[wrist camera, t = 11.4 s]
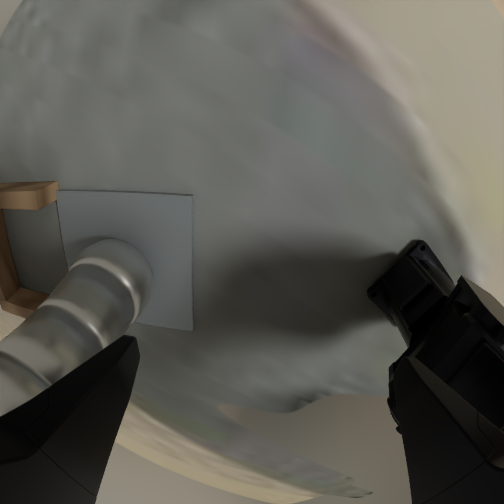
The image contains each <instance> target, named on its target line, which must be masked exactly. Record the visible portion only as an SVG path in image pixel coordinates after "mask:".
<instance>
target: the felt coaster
mask: <svg viewBox="0 0 504 504" xmlns="http://www.w3.org/2000/svg"><path fill="white" fill-rule="evenodd" d="M56 196H57V206H58V214H59V221H60V228H61V234H62V240H63V246H64V251H65V257H66V262H67V266H68V270H69V268H70V267H71V265H72V264H73V262H74V261H75V259H76V258H77V257H78V256H79V254H80V253H81V252H82V251H83V250H84V249H85V248H87V247H88V246H90V245H92V244H94V243H96V242H99V241H101V240H104V239H117V240H121V241H124V242H126V243H129V244H131V245H133V246H134V247H136V248H137V249H138V250H139V251H140V252H141V253H142V254H143V255H144V257H145V258H146V259H147V261H148V263H149V265H150V267H151V270H152V273H153V278H154V285H153V290H152V294H151V298H150V301H149V304H148V305H147V307H146V309H145V310H144V311H143V312H142V314H141V315H140V316H139V317H138V319H137V320H136V321H134V322H136V323H141V324H147V325H153V326H159V327H165V328H171V329H178V330H185V331H192V332H193V330H194V322H193V282H192V226H193V195H188V194H173V193H156V192H135V191H107V190H57V191H56Z"/></svg>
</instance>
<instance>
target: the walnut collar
mask: <svg viewBox="0 0 504 504" xmlns="http://www.w3.org/2000/svg"><path fill="white" fill-rule="evenodd" d="M57 190H59V187H58V181H46V182H20V183H2V184H0V304H1V307H2V309H3V310H4V311H7V312H9V313H12V314H15V315H18V316H20V317H23V318H26V319H27V318H28V317H29V316H30V315H31V314H32V313H33V312H34V311H35V310H36V309H37V308H38V307H39V306H40V305H41V304H42V303H43V302H44V301H45V300H46V299H47V298H48V297H49V294H45V293H41V292H37V291H33V290H29V289H26V288H22V287H21V286H20V283H19V280H18V276H17V273H16V269H15V266H14V262H13V258H12V254H11V250H10V246H9V242H8V237H7V233H6V228H5V222H4V217H3V211H2V209H24V210H39V209H41V208H43V207H45V206H46V205H48V204H50V203H52V202H54V201H56V200H57V196H56V191H57Z"/></svg>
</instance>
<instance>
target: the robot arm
mask: <svg viewBox="0 0 504 504" xmlns="http://www.w3.org/2000/svg"><path fill="white" fill-rule="evenodd" d="M422 245H423V248H421V249H420V247H421V246H422ZM457 282H458V284H457V285H456V286H455V285H454V283H453V281H452V279H451V278H450V276H449V275H448V273H447V272H446V270H445V269H444V267H443V266H442V264H441V263H440V261H439V260H438V258H437V257H436V256H435V254H434V253H433V251H432V250H431V249H430V247H429V246H428V244H427V243H426V242H424V241H423V240H421V241H419V242H417V243H416V244H415V245H414V246H413V247H412V248H411V249H410V250H409V251H408V252H407V253H406V254H405V255H404V256H403V257H402V258H401V259H400V260H399V261H398V262H397V263H396V264H395V265H394V266H393V267H392V268H391V269H390V270H389V271H388V272H386V273H385V274H384V275H383V276H382V277H381V278H380V279H379V280H378V281H377V282H376V283H375V284H374V285H373V286H371V287H370V288H369V289H368V291H367V295H368V297H369V298H370V299H371V300H372V301H373V302H374V303H375V304H376V305H377V306H378V307H379V308H380V309H381V310H382V311H384V312H385V313H386V314H387V315H388V316H389V317H390V318H391V319H392V320H393V321H394V322H395V323H396V325H397V327H398V329H399V331H400V333H401V335H402V337H403V339H404V341H405V343H406V345H407V347H408V349H407V350H406V351H405V352H404V353H403V354H402V355H401V356H400V358H399V359H398V360H397V361H396V362H393V363H392V364H391V366H390V367H389V397H388V398H387V404H388V406H389V408H390V412H391V415H392V417H393V419H394V420H395V422H396V423H397V425H398V426H397V427H396V430H397V431H398V432H399V433H400V434H402V439H403V444H404V450H405V456H406V462H407V468H408V474H409V482H410V489H411V498H412V504H504V307H503V306H502V305H501V304H500V303H499V302H498V301H497V300H496V299H495V298H494V297H493V296H492V295H491V294H490V293H488V292H487V291H485V290H484V289H482V288H481V287H479V286H478V285H476V284H475V283H473V282H472V281H470V280H469V279H467V278H466V277H464V276H463V275H461V277H460V278H459V280H458V281H457ZM373 292H375V293H374V294H372V293H373ZM139 360H140V353H139V348H138V344H137V340H136V338H135V337H134V336H129V335H123V336H121V337H120V338H118V339H117V340H115V341H114V342H112V343H111V344H110V345H108V346H107V347H105V348H104V349H102V350H101V351H100V352H98V353H97V354H95V355H94V356H92V357H91V358H89V359H88V360H87V361H85V362H84V363H82V364H81V365H79V366H78V367H77V368H75V369H74V370H72V371H71V372H69V373H68V374H67V375H65V376H64V377H62V378H61V379H59V380H58V381H57V382H55V383H54V384H52V385H51V386H49V388H46V389H45V390H44V391H42V392H41V393H39V394H38V395H36V396H35V397H33V398H32V399H30V400H29V401H27V402H25V403H24V404H22V405H20V406H18V407H17V408H15V409H13V410H11V411H9V412H7V413H6V414H4V415H2V416H0V504H95V502H96V496H97V494H98V491H99V488H100V484H101V481H102V478H103V475H104V471H105V468H106V465H107V462H108V459H109V456H110V453H111V450H112V447H113V444H114V441H115V438H116V436H117V433H118V430H119V427H120V424H121V421H122V419H123V416H124V413H125V410H126V408H127V405H128V402H129V399H130V396H131V392H132V388H133V384H134V380H135V376H136V372H137V368H138V364H139Z"/></svg>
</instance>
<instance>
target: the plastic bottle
mask: <svg viewBox="0 0 504 504" xmlns="http://www.w3.org/2000/svg"><path fill="white" fill-rule="evenodd" d="M153 285H154V278H153V273H152V270H151V267H150V265H149V263H148V261H147V259H146V258H145V257H144V255H143V254H142V253H141V252H140V251H139V250H138V249H137V248H136V247H134V246H133V245H131V244H129V243H126V242H124V241H121V240H117V239H104V240H101V241H99V242H96V243H94V244H92V245H90V246H88V247H87V248H85V249H84V250H83V251H82V252H81V253H80V254H79V256H78V257H77V258H76V259H75V261H74V262H73V264H72V265H71V267H70V268H69V270H68V272H67V274H66V275H65V276H64V278H63V279H62V280H61V281H60V283H59V284H58V285H57V286H56V288H55V289H54V290H53V291H52V293H51V294H50V295H49V297H48V298H47V299H46V300H45V301H44V302H43V303H42V304H41V305H40V306H39V307H38V308H37V309H36V310H35V311H34V312H33V313H32V314H31V315H30V316H29V317H28V318H27V319H26V320H25V321H24V322H23V323H22V324H21V325H20V326H18V327H17V328H16V329H15V330H14V331H12V332H11V333H10V334H9V335H8V336H6V337H5V338H4V339H3V340H2V341H1V342H0V416H2V415H4V414H6V413H7V412H9V411H11V410H13V409H15V408H17V407H18V406H20V405H22V404H24V403H25V402H27V401H29V400H30V399H32V398H33V397H35V396H36V395H38V394H39V393H41V392H42V391H44V390H45V389H46V388H49V386H51V385H52V384H54V383H55V382H57V381H58V380H59V379H61V378H62V377H64V376H65V375H67V374H68V373H69V372H71V371H72V370H74V369H75V368H77V367H78V366H79V365H81V364H82V363H84V362H85V361H87V360H88V359H89V358H91V357H92V356H94V355H95V354H97V353H98V352H100V351H101V350H102V349H104V348H105V347H107V346H108V345H110V344H111V343H112V342H114V341H115V340H117V339H118V338H120V337H121V336H123V334H124V333H125V332H126V330H127V329H128V327H129V326H130V325H131V324H132V323H133V322H134V321H136V320H137V319H138V317H139V316H140V315H141V314H142V312H143V311H144V310H145V309H146V307H147V305H148V304H149V301H150V298H151V294H152V290H153Z"/></svg>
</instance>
